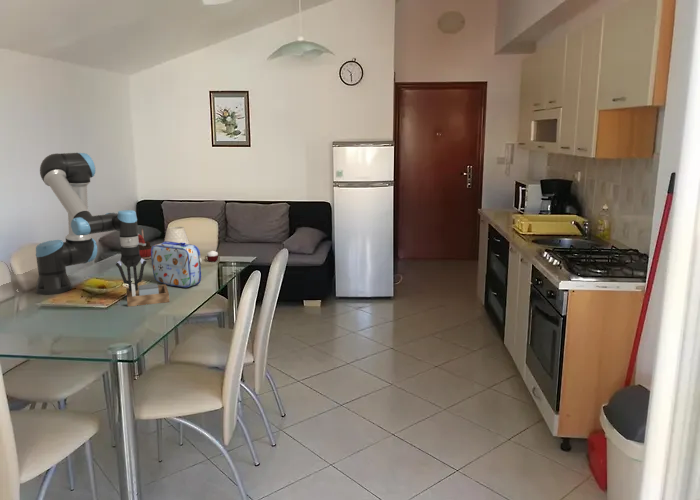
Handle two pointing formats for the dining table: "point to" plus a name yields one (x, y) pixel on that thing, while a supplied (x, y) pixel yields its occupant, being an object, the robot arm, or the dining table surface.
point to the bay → (148, 297)
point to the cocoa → (213, 255)
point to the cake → (144, 247)
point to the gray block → (148, 289)
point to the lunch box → (176, 264)
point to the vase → (176, 235)
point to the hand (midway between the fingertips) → (134, 297)
